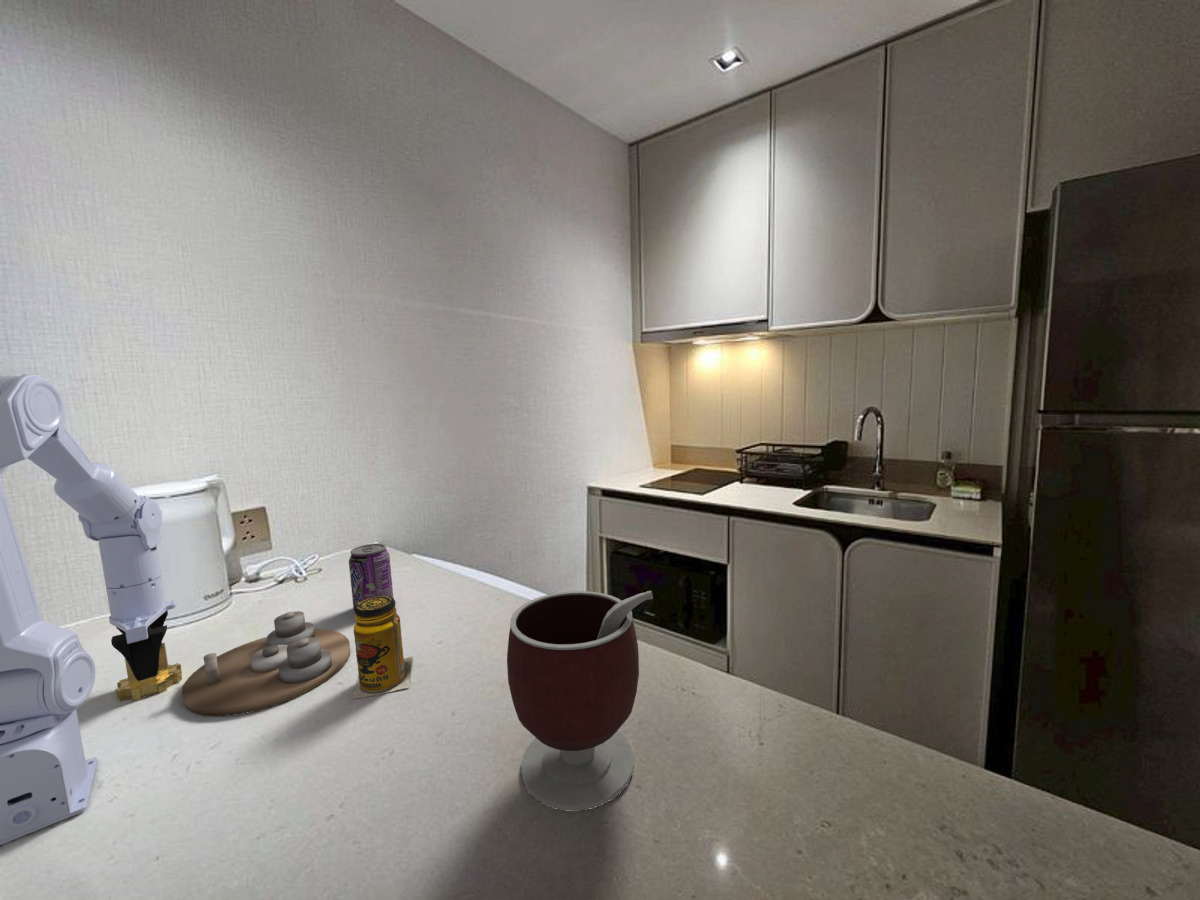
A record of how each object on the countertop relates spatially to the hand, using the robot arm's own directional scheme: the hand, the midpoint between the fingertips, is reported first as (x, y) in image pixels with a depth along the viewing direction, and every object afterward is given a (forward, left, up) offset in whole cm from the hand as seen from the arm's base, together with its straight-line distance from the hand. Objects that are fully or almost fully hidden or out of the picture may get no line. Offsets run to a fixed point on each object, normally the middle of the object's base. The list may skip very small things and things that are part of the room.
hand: (148, 670), depth 71 cm
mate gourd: (-55, -37, -3) cm, 66 cm away
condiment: (-22, -26, -3) cm, 34 cm away
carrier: (-8, -14, -2) cm, 16 cm away
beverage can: (+4, -32, -3) cm, 32 cm away
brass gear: (0, 0, -2) cm, 2 cm away
